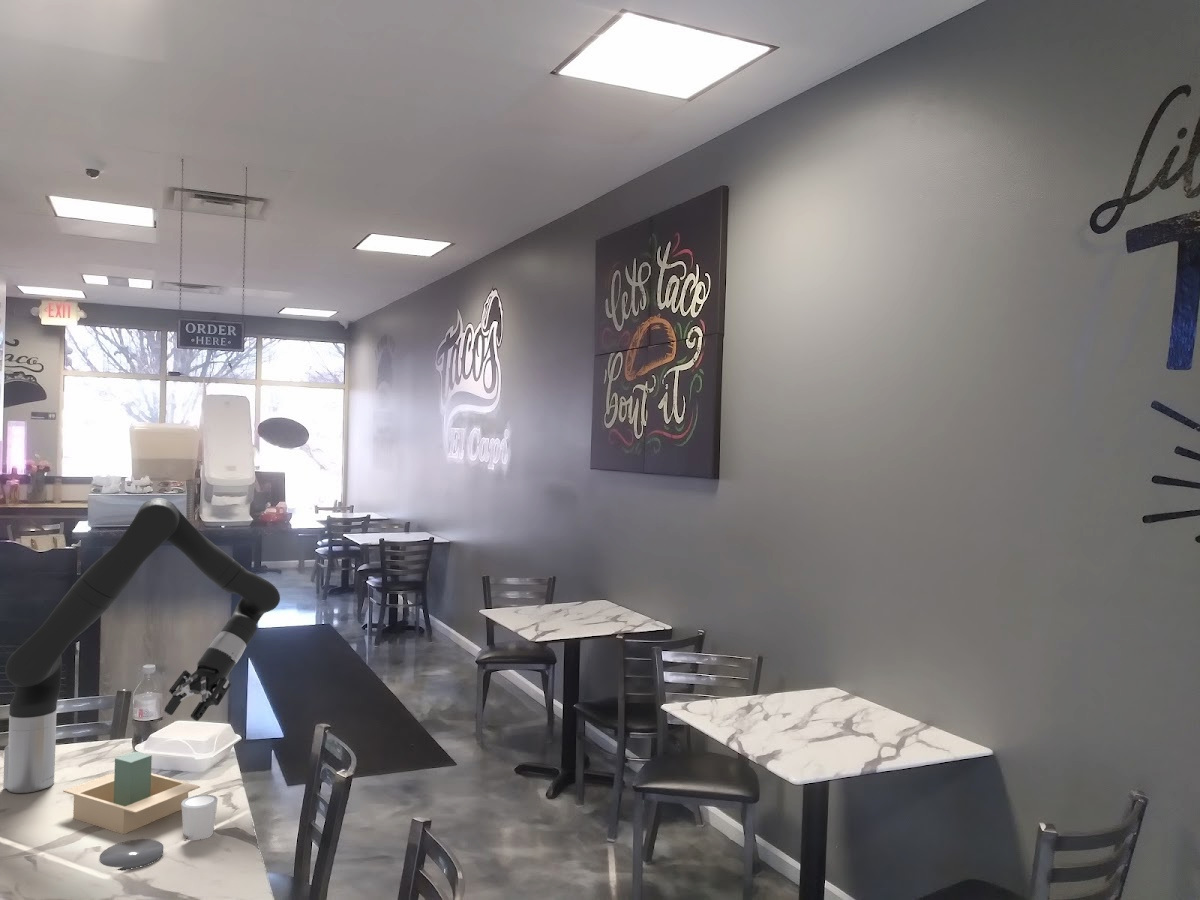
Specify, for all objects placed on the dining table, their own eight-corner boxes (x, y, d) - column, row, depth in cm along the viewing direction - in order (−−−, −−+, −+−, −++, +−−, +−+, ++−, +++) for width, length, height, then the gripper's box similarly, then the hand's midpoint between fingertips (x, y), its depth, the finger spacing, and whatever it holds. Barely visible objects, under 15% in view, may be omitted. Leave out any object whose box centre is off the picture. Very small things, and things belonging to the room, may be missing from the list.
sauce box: (112, 814, 188) (114, 758, 188) (134, 805, 192) (136, 751, 192) (129, 819, 185) (130, 762, 185) (150, 810, 190) (152, 755, 190)
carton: (62, 818, 186) (63, 790, 186) (128, 793, 201) (129, 767, 201) (134, 841, 177) (135, 812, 177) (199, 813, 191) (200, 786, 191)
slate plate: (85, 866, 166) (85, 861, 166) (127, 841, 177) (127, 836, 177) (136, 873, 164) (136, 868, 164) (175, 847, 175) (175, 842, 175)
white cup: (180, 844, 177) (181, 809, 177) (179, 830, 183) (180, 797, 183) (217, 838, 180) (218, 804, 180) (215, 824, 186) (216, 792, 186)
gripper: (192, 643, 210) (148, 703, 200) (235, 650, 204) (193, 712, 194) (210, 660, 215) (168, 719, 205) (252, 667, 209) (212, 729, 199)
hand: (180, 716), depth 199 cm, fingers open, 8 cm apart
